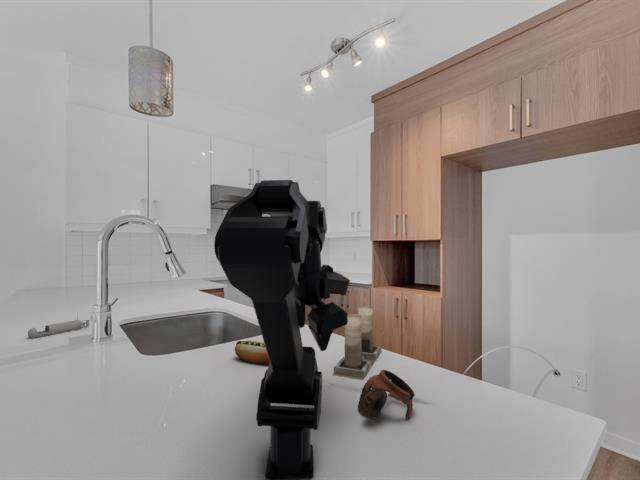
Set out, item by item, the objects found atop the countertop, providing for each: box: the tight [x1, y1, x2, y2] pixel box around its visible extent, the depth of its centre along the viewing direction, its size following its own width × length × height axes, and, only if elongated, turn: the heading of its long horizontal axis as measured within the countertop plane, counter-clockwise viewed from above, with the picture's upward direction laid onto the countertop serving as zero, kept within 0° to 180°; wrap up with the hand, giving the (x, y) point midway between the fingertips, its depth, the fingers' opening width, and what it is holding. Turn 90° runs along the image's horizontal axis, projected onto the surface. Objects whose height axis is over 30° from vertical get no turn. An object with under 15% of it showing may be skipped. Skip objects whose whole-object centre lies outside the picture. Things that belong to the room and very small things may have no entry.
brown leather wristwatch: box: [357, 369, 416, 420], centre depth 59 cm, size 12×10×8 cm
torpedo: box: [27, 311, 90, 339], centre depth 113 cm, size 18×5×7 cm, turn 151°
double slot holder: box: [332, 344, 383, 381], centre depth 82 cm, size 21×7×3 cm, turn 158°
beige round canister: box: [344, 313, 362, 370], centre depth 76 cm, size 4×4×13 cm
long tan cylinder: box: [357, 304, 374, 353], centre depth 87 cm, size 4×4×13 cm
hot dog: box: [234, 340, 270, 365], centre depth 85 cm, size 5×13×5 cm, turn 67°
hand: (312, 337), depth 64 cm, fingers open, 9 cm apart
